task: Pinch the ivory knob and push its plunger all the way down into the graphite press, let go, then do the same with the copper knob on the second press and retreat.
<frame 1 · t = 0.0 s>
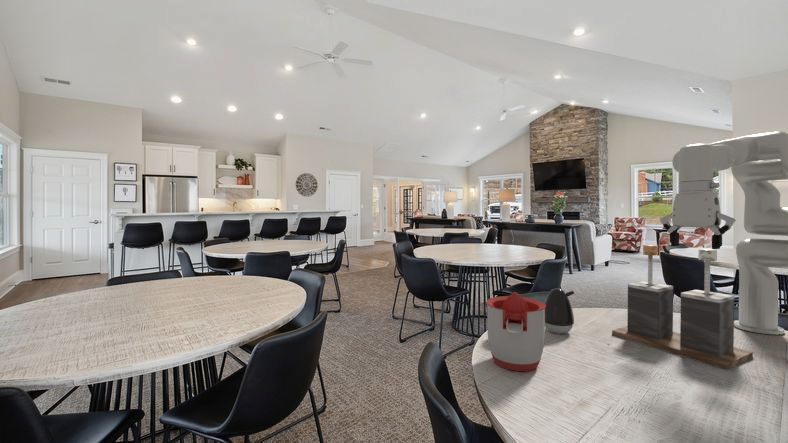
hand: (694, 247, 101), 31 cm above the table, tool pointing down, fingers open, 9 cm apart
citrus juicer: (515, 365, 97), on the table
ivory plunger: (707, 284, 102), point 20 cm above the table, slide at 0.0 cm
press station: (676, 344, 109), on the table
copper plunger: (650, 276, 115), point 20 cm above the table, slide at 0.0 cm
pump dispenser: (558, 331, 123), on the table
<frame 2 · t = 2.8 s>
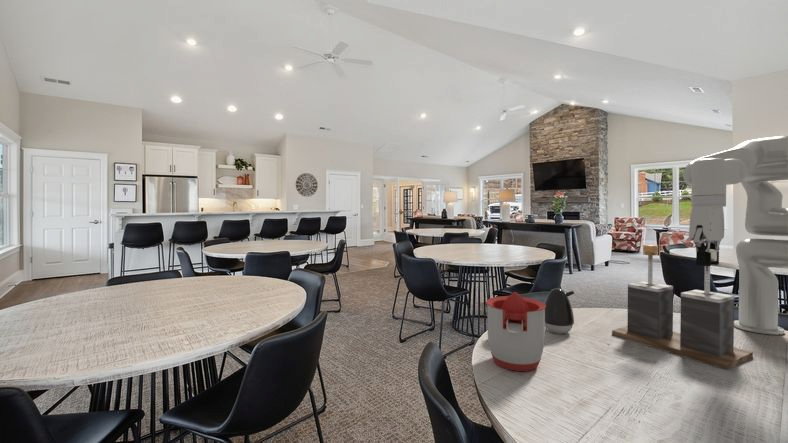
hand: (707, 264, 102), 26 cm above the table, tool pointing down, fingers closed on ivory plunger, 4 cm apart
ivory plunger: (707, 284, 102), point 20 cm above the table, slide at 0.0 cm, touching gripper
everything else where it was.
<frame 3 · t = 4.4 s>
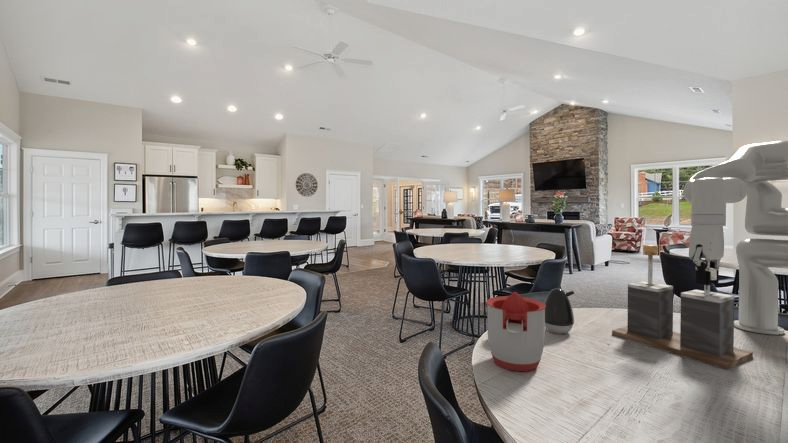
hand: (707, 282, 102), 21 cm above the table, tool pointing down, fingers closed on ivory plunger, 4 cm apart
ivory plunger: (706, 303, 102), point 15 cm above the table, slide at 5.5 cm, touching gripper
everything else where it was.
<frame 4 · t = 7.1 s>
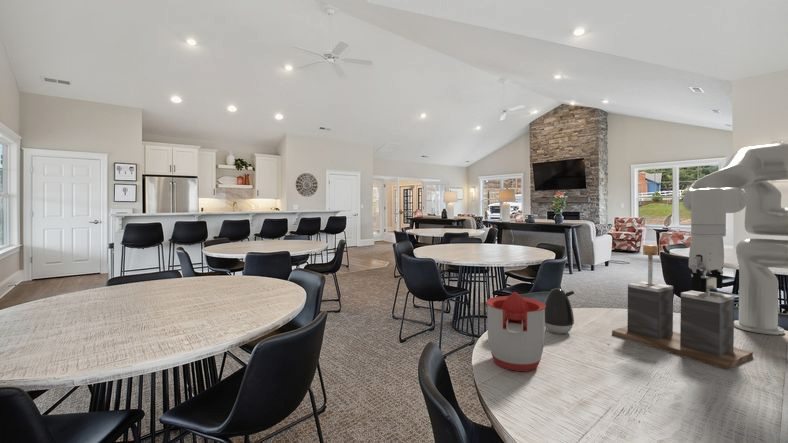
hand: (707, 289, 102), 19 cm above the table, tool pointing down, fingers open, 9 cm apart
ivory plunger: (706, 312, 102), point 12 cm above the table, slide at 8.1 cm
everything else where it was.
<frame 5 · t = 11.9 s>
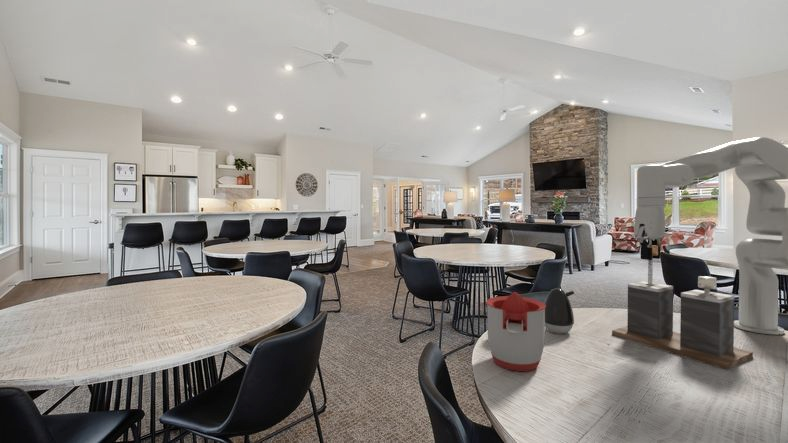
hand: (650, 258, 115), 26 cm above the table, tool pointing down, fingers closed on copper plunger, 4 cm apart
copper plunger: (650, 276, 115), point 20 cm above the table, slide at 0.0 cm, touching gripper
everything else where it was.
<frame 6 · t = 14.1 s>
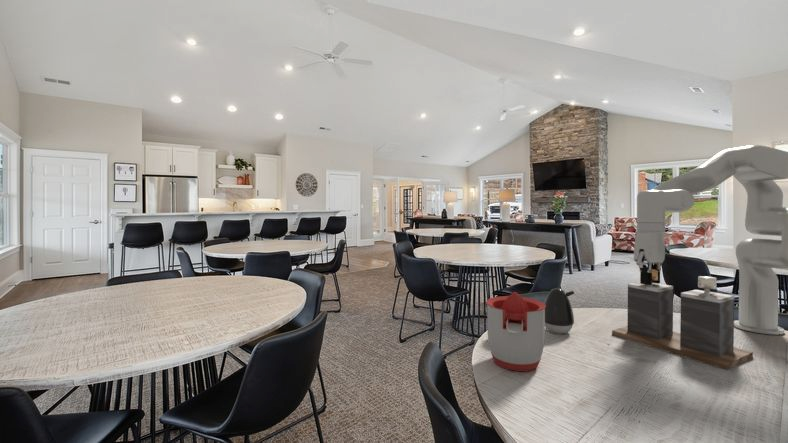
hand: (650, 282, 116), 18 cm above the table, tool pointing down, fingers closed on copper plunger, 4 cm apart
copper plunger: (650, 300, 116), point 12 cm above the table, slide at 8.2 cm, touching gripper
everything else where it was.
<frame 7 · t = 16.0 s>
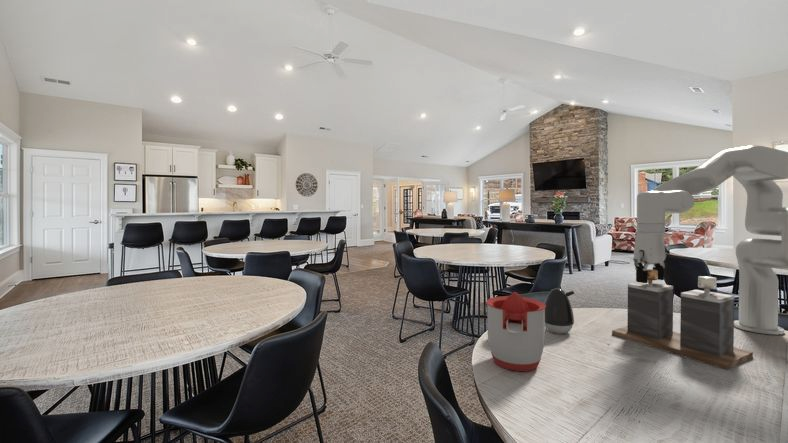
hand: (650, 280, 116), 19 cm above the table, tool pointing down, fingers open, 9 cm apart
copper plunger: (650, 300, 116), point 12 cm above the table, slide at 8.1 cm
everything else where it was.
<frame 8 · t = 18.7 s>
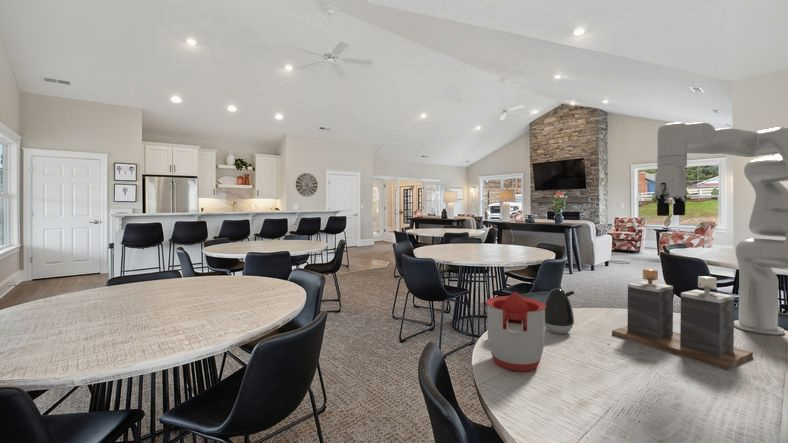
hand: (671, 215, 114), 40 cm above the table, tool pointing down, fingers open, 9 cm apart
nothing on the table moved.
at the end: ivory plunger slide at 8.1 cm; copper plunger slide at 8.1 cm; the gripper is holding nothing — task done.
